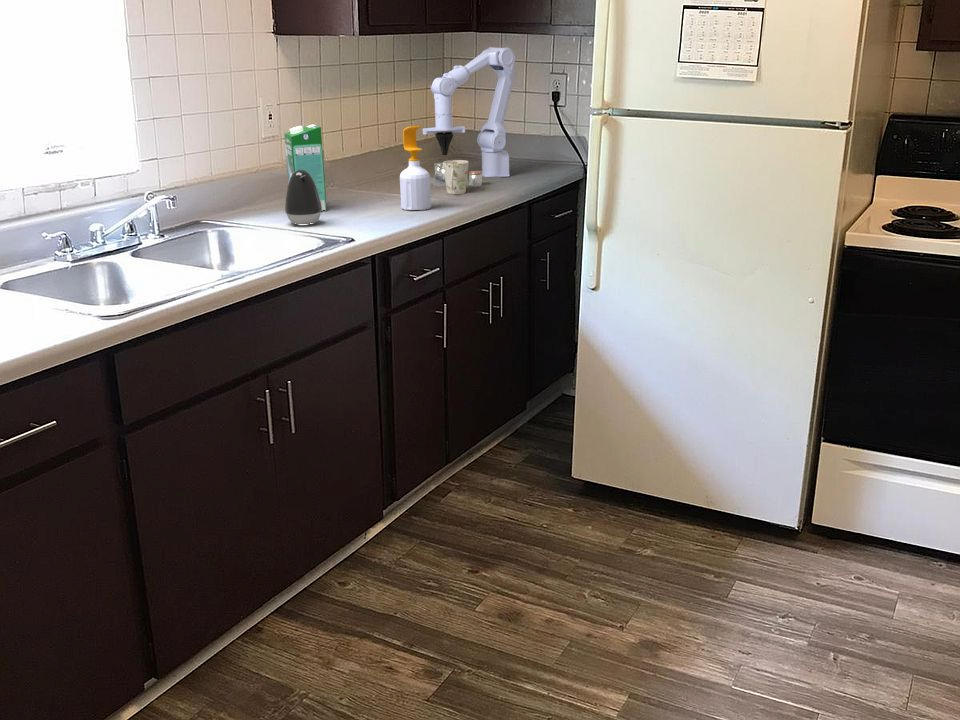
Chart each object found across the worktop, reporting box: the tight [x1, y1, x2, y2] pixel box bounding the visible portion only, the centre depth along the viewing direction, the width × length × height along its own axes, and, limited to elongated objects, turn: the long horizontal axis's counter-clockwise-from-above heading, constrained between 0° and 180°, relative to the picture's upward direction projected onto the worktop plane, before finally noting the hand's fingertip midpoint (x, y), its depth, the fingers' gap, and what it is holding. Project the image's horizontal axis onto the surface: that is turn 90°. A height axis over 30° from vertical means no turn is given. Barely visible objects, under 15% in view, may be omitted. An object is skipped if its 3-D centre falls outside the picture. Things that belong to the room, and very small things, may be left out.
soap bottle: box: [399, 125, 432, 211], centre depth 291 cm, size 9×9×25 cm
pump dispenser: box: [284, 170, 322, 224], centre depth 274 cm, size 10×10×15 cm
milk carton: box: [283, 123, 328, 211], centre depth 291 cm, size 9×9×25 cm
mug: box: [442, 159, 470, 195], centre depth 316 cm, size 8×13×10 cm, turn 174°
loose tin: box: [468, 170, 483, 187], centre depth 328 cm, size 5×5×5 cm
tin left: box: [433, 162, 443, 179], centre depth 343 cm, size 5×5×5 cm
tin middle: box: [439, 165, 446, 182], centre depth 337 cm, size 5×5×5 cm
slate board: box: [430, 177, 469, 187], centre depth 338 cm, size 12×18×1 cm, turn 18°
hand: (444, 154), depth 335 cm, fingers closed
